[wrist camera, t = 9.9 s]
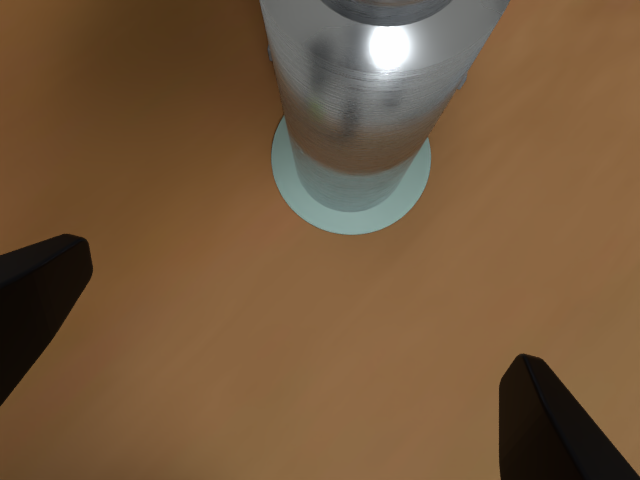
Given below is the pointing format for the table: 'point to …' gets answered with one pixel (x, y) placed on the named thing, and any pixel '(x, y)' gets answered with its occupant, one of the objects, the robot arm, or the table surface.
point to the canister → (368, 85)
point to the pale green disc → (346, 221)
